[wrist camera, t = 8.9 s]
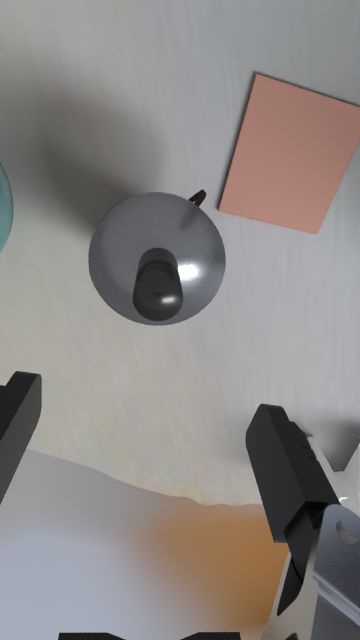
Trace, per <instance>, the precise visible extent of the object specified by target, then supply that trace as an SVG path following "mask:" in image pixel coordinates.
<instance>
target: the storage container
mask: <svg viewBox="0 0 360 640" xmlns="http://www.w3.org/2000/svg"><path fill="white" fill-rule="evenodd" d="M359 438H360V436H359ZM307 439H308V441H309V443H310V445H311V449H313V451H314V453H315V455H316V457H317V460H318V461H319V463H320V465H321V467H322V469H323V471H324V472H325V474H326V476H327V478H328V480H329V482H330V484H331V486H332V488H333V490H334V492H335V494H336V496H337V498H338V500H339V502H340V503H341V505H342V506H344V507H346V508H348V509H350V510H351V511H353V512H354V513H355V514H356V515H358V516H359V517H360V443H359V445H358V447H357V449H356V450H355V452H354V454H353V456H352V458H351V459H350V461H349V463H348V465H347V467H346V469H345V470H344V471H338V472H333V470H332V468H331V467H330V465H329V463H328V461H327V459H326V457H325V456H324V454H323V452H322V450H321V448H320V447H319V445H318V443H317V441H316V439H315V437H314V436H308V438H307Z"/></svg>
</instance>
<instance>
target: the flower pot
mask: <svg viewBox="0 0 360 640" xmlns="http://www.w3.org/2000/svg"><path fill="white" fill-rule="evenodd" d="M12 222H13V197H12V192H11V188H10V184H9V181H8V178H7V176H6V173H5V171H4V169H3V167H2V165H1V163H0V253H1V251H2V249H3V248H4V246H5V244H6V242H7V240H8V237H9V234H10V231H11V227H12Z"/></svg>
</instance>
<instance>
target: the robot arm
mask: <svg viewBox="0 0 360 640" xmlns="http://www.w3.org/2000/svg"><path fill="white" fill-rule="evenodd" d="M41 405H42V379H41V375H40V374H35V373H28V372H20V371H16V372H15V373H14V374H13V376H12V377H11V378H10V380H9V381H8V383H7V384H6V386H2V385H0V504H1V502H2V500H3V498H4V495H5V493H6V491H7V489H8V487H9V485H10V482H11V480H12V478H13V475H14V474H15V471H16V469H17V467H18V465H19V463H20V460H21V458H22V456H23V454H24V452H25V450H26V447H27V445H28V443H29V441H30V439H31V437H32V434H33V432H34V430H35V428H36V426H37V423H38V420H39V417H40V413H41ZM246 447H247V451H248V454H249V458H250V461H251V465H252V468H253V471H254V475H255V478H256V482H257V485H258V489H259V492H260V495H261V499H262V502H263V506H264V509H265V512H266V516H267V519H268V523H269V526H270V529H271V533H272V536H273V540H274V542H276V543H288V546H289V549H290V553H289V554H288V555H287V558H286V562H285V565H284V569H283V573H282V576H281V580H280V583H279V587H278V591H277V594H276V598H275V602H274V605H273V609H272V613H271V617H270V619H269V621H268V624H267V626H266V628H265V630H264V632H263V634H262V636H261V638H260V640H360V517H359V516H358V515H356V514H355V513H354V512H353V511H351V510H350V509H348V508H346V507H344V506H342V505H341V503H340V502H339V500H338V498H337V496H336V494H335V492H334V490H333V488H332V486H331V484H330V482H329V480H328V478H327V476H326V474H325V472H324V471H323V469H322V467H321V465H320V463H319V461H318V460H317V457H316V455H315V453H314V451H313V449H311V445H310V443H309V441H308V439H307V438H306V436H305V434H304V433H303V431H302V430H301V429H300V428H299V427H298V426H297V425H296V424H295V423H294V422H291V421H289V419H288V417H287V415H286V412H285V410H284V409H283V407H281V406H276V405H268V404H261V405H259V407H258V409H257V411H256V413H255V415H254V417H253V419H252V421H251V423H250V425H249V427H248V429H247V432H246ZM58 640H125V639H122V638H120V637H117V636H114V635H112V634H109V633H59V638H58ZM181 640H241V639H240V633H239V632H198V633H196V634H193V635H191V636H188V637H186V638H184V639H181Z"/></svg>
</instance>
